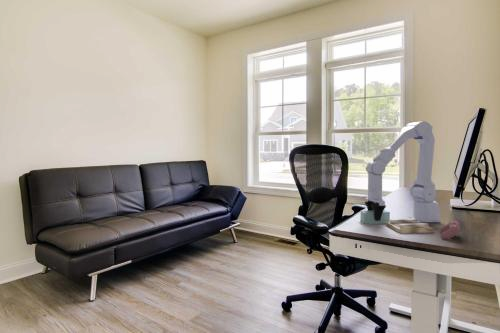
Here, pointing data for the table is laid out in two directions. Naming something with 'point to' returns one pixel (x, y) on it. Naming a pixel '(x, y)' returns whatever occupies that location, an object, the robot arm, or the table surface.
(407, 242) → the table surface
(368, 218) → the light blue rectangular block
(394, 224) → the display stand
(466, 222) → the table surface
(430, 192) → the robot arm
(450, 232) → the pink knobbed toy
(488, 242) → the table surface
